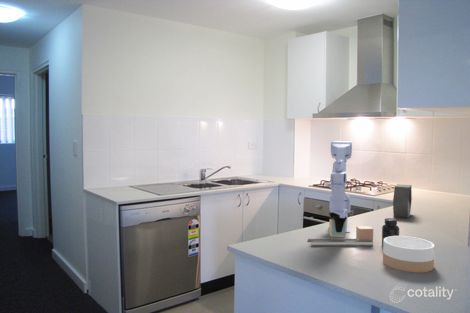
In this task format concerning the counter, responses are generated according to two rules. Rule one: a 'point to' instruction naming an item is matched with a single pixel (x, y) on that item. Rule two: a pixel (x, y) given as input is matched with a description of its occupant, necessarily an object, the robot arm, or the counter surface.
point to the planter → (402, 201)
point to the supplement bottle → (390, 228)
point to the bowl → (408, 253)
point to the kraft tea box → (333, 229)
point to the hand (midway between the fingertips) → (337, 230)
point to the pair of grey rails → (339, 242)
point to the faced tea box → (364, 233)
